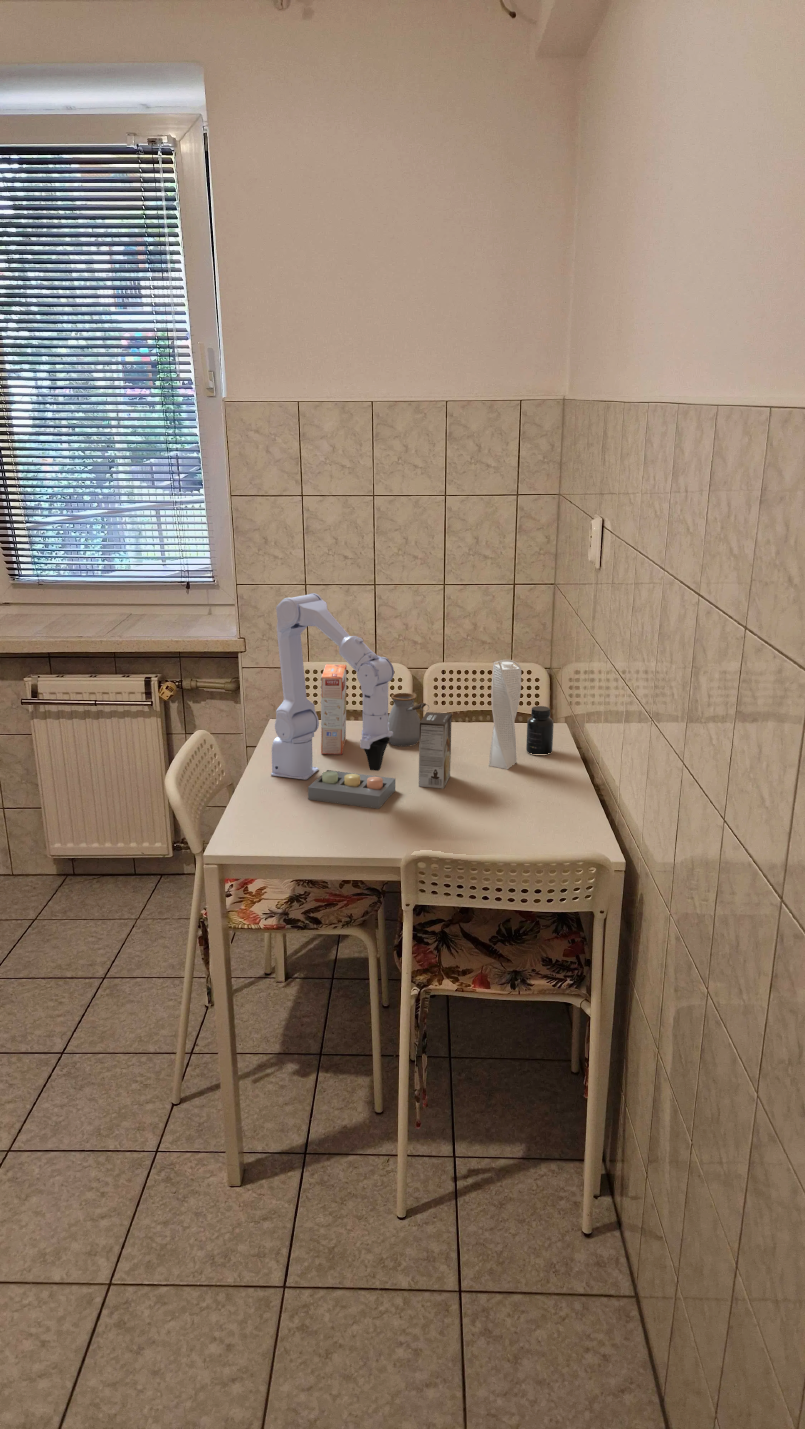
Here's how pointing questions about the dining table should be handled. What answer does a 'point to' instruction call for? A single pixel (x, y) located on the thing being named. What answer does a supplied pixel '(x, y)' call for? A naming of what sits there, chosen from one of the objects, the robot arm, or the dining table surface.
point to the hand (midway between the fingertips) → (375, 769)
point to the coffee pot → (404, 720)
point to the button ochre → (352, 780)
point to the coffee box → (435, 749)
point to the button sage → (330, 777)
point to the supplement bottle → (540, 731)
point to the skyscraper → (504, 712)
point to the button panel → (351, 791)
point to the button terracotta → (375, 783)
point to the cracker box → (333, 709)
